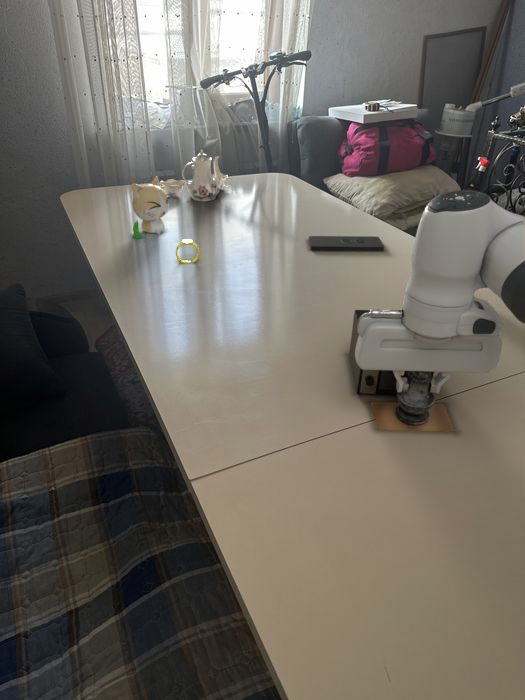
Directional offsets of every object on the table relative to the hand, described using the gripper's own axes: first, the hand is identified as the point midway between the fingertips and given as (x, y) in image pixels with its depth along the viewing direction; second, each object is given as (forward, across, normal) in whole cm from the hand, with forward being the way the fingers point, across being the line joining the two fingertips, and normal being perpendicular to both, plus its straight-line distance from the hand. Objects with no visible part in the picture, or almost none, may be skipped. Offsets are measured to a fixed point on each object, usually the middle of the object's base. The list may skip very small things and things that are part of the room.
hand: (417, 390), depth 79 cm
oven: (+6, -2, +12) cm, 13 cm away
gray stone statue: (+5, 0, 0) cm, 5 cm away
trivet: (+6, 0, 0) cm, 6 cm away
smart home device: (+6, -3, +74) cm, 74 cm away
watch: (+6, -45, +60) cm, 75 cm away
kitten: (+6, -59, +82) cm, 101 cm away
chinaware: (+6, -50, +118) cm, 129 cm away
